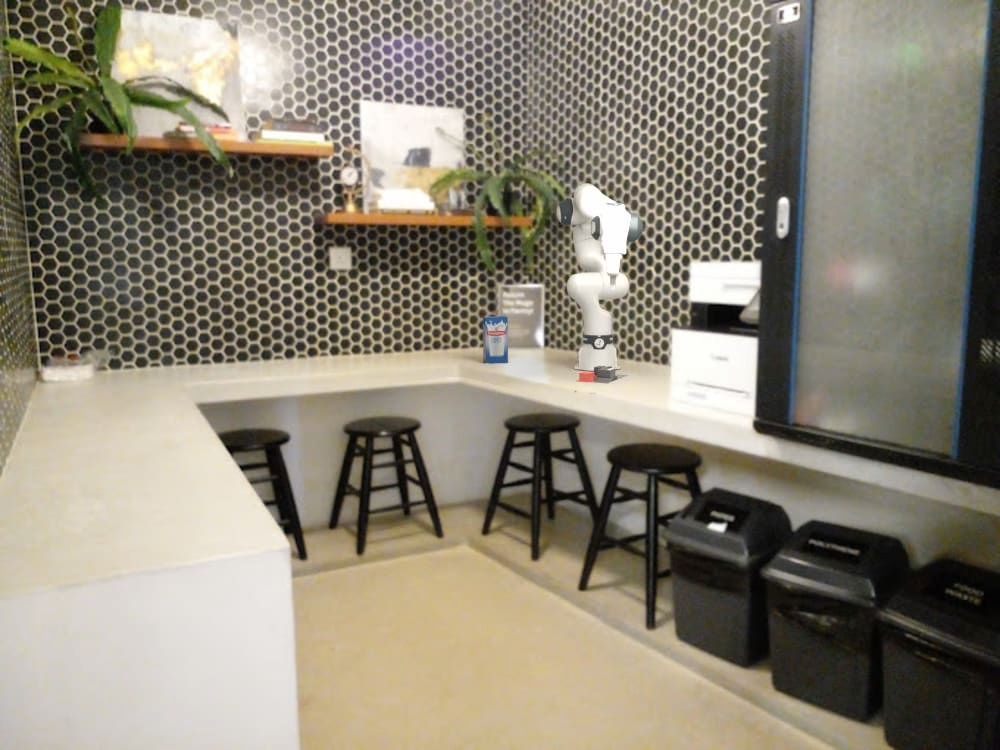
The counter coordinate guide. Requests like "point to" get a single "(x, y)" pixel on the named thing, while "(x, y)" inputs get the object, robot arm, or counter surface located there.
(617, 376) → the panel
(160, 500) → the counter surface
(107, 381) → the counter surface
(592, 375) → the red block
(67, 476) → the counter surface
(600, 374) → the breaker
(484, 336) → the milk carton
